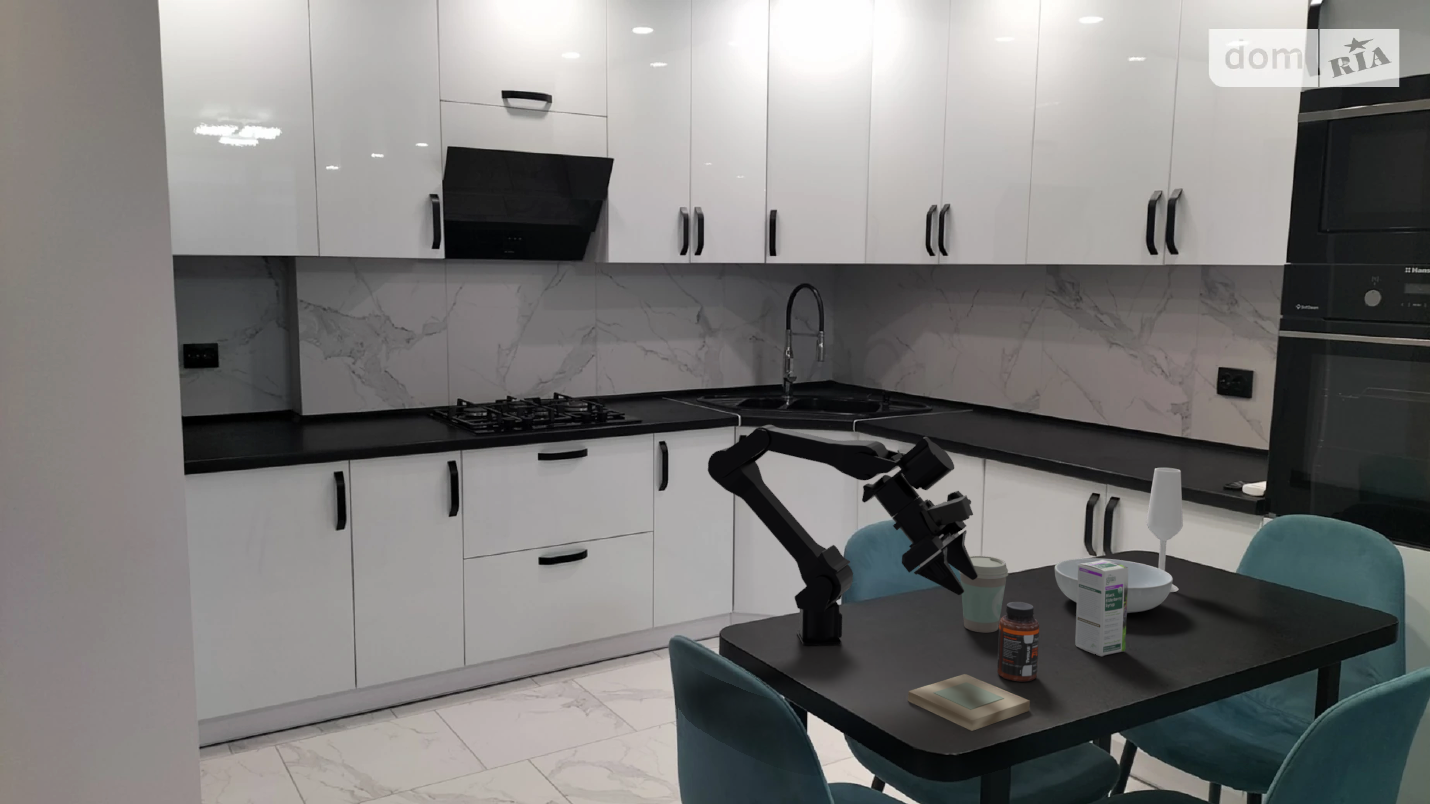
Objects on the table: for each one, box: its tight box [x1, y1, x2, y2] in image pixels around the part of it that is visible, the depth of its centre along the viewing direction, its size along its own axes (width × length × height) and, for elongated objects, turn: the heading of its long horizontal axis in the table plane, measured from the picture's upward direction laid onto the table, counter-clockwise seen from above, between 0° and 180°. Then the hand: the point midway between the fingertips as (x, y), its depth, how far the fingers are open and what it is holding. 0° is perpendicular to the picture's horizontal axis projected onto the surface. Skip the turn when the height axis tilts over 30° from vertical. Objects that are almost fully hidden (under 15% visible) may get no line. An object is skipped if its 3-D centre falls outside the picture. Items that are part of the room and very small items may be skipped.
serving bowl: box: [1054, 557, 1174, 614], centre depth 194 cm, size 21×21×7 cm
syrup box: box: [1074, 560, 1129, 657], centre depth 171 cm, size 6×6×14 cm
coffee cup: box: [958, 555, 1009, 633], centre depth 181 cm, size 8×9×12 cm
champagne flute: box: [1145, 467, 1184, 593], centre depth 206 cm, size 7×7×24 cm
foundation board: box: [907, 673, 1031, 732], centre depth 148 cm, size 12×12×2 cm
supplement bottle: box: [996, 601, 1040, 683], centre depth 159 cm, size 6×6×11 cm
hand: (969, 585), depth 162 cm, fingers open, 9 cm apart
